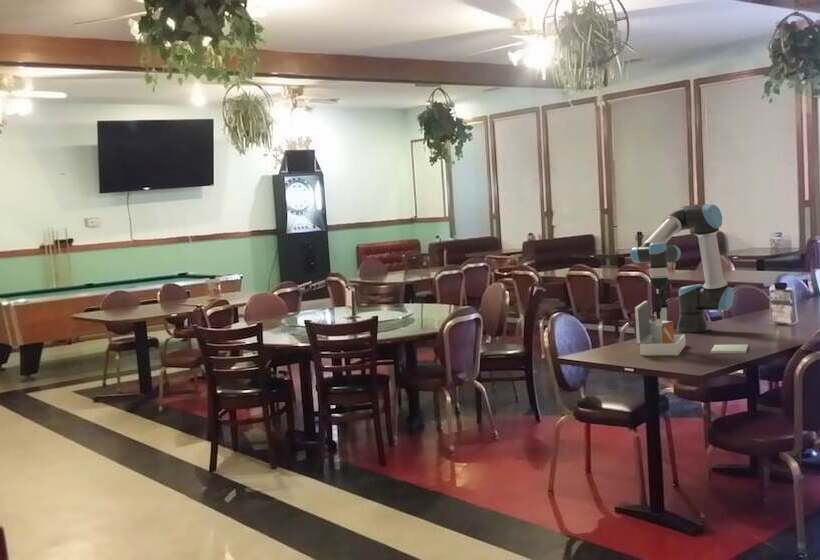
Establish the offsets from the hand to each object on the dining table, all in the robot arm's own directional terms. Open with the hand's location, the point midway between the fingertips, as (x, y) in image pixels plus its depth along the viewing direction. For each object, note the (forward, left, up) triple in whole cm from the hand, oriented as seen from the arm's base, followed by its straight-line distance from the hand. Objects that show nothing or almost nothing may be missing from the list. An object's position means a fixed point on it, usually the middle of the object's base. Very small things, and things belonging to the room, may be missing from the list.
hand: (661, 324), depth 372 cm
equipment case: (0, 0, -12) cm, 12 cm away
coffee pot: (-24, -6, -12) cm, 27 cm away
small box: (0, 0, -12) cm, 12 cm away
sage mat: (0, +28, -12) cm, 31 cm away
